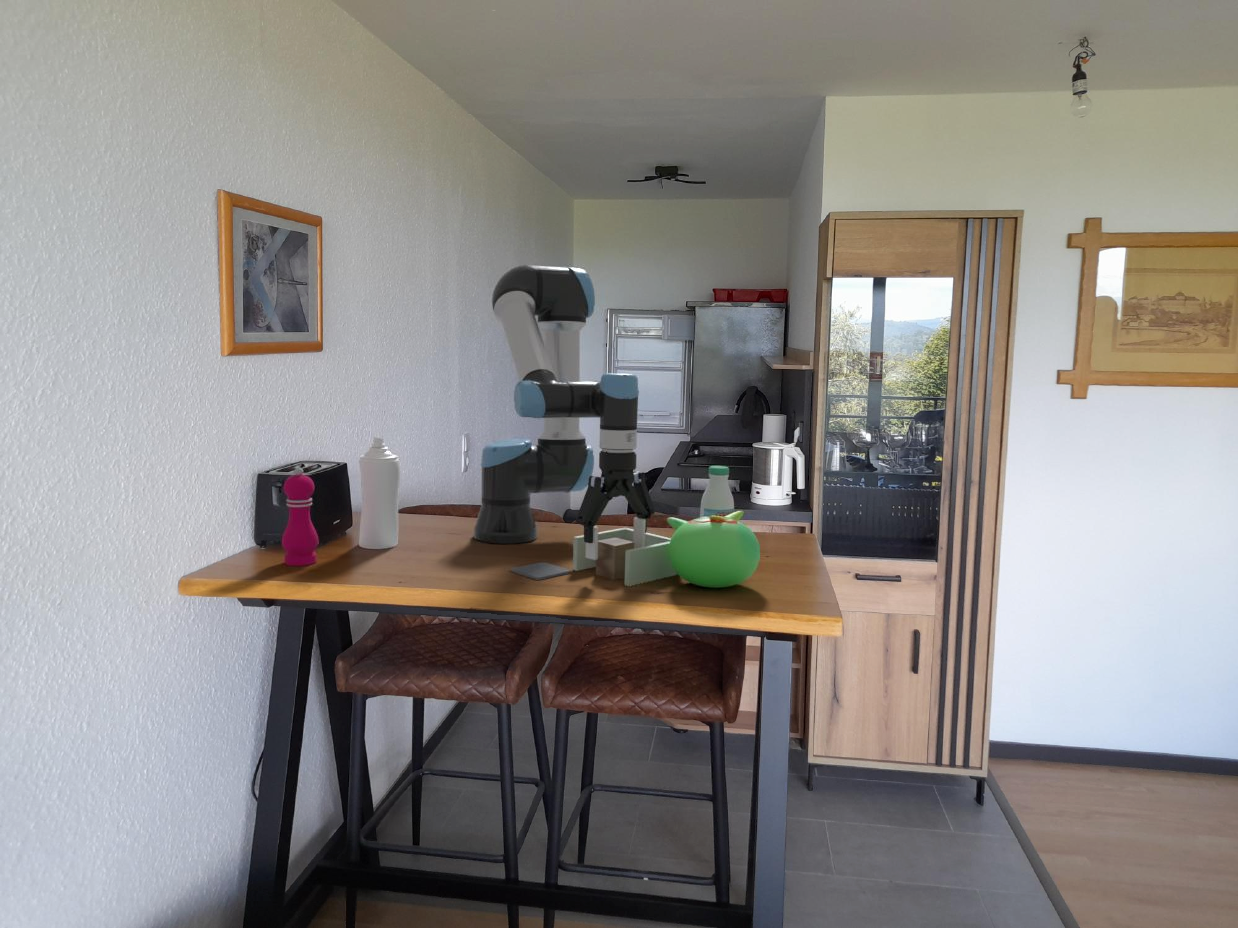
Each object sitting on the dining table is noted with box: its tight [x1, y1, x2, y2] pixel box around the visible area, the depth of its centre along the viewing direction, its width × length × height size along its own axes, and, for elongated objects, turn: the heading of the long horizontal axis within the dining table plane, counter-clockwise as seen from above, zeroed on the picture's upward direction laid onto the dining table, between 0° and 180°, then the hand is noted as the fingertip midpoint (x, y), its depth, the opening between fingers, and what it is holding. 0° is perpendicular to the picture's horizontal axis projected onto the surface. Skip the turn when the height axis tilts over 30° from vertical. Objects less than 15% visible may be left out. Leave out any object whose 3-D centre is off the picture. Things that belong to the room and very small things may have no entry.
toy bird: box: [666, 510, 761, 589], centre depth 175 cm, size 18×17×15 cm
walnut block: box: [595, 537, 634, 581], centre depth 181 cm, size 6×6×7 cm
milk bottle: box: [699, 465, 735, 517], centre depth 201 cm, size 8×8×20 cm
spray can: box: [358, 437, 401, 550], centre depth 198 cm, size 12×11×25 cm
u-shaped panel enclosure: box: [572, 527, 678, 587], centre depth 183 cm, size 15×16×7 cm
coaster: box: [509, 561, 573, 581], centre depth 182 cm, size 9×9×1 cm
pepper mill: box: [281, 467, 320, 567], centre depth 182 cm, size 7×7×20 cm
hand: (615, 553), depth 180 cm, fingers open, 13 cm apart
